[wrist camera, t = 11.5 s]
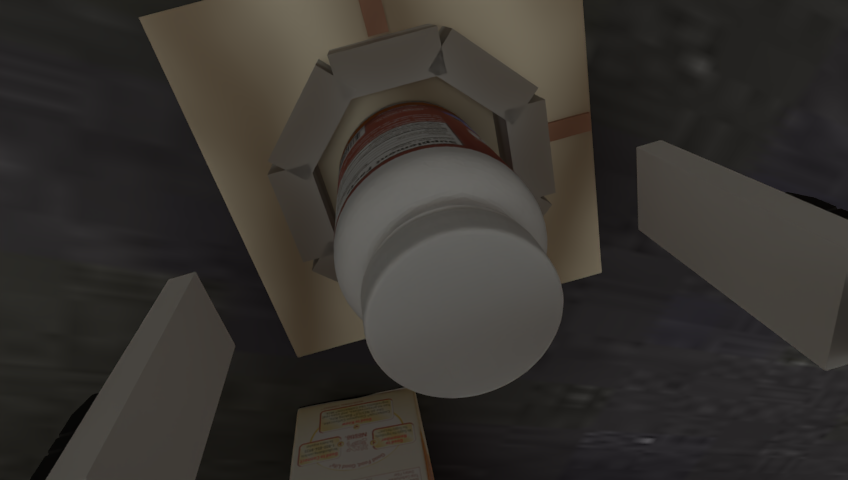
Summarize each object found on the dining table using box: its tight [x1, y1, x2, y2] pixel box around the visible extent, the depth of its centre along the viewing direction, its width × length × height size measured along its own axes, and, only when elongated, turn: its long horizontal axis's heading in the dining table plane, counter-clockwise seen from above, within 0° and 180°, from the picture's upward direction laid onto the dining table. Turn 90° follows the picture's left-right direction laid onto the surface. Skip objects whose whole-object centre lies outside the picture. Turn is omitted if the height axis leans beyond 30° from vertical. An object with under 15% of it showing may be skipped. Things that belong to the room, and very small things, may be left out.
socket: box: [139, 0, 602, 357], centre depth 20 cm, size 16×16×3 cm
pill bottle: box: [334, 101, 564, 398], centre depth 16 cm, size 6×6×11 cm
